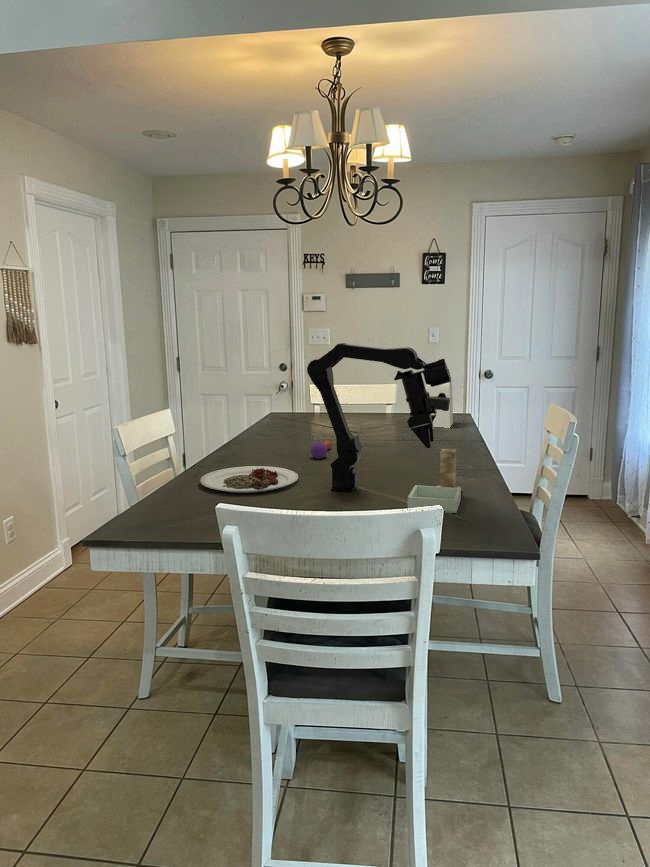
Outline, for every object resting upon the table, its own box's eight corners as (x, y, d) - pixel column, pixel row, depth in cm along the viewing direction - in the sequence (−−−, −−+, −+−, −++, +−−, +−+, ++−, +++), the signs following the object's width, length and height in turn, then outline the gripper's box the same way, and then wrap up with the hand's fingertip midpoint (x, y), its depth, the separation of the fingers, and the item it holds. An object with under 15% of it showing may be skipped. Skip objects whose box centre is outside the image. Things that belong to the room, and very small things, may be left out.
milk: (452, 424, 300) (454, 368, 295) (449, 429, 289) (451, 370, 284) (426, 423, 304) (427, 367, 299) (422, 427, 293) (423, 369, 288)
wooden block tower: (433, 495, 185) (434, 452, 183) (436, 489, 192) (437, 447, 189) (458, 497, 183) (459, 453, 181) (460, 490, 190) (462, 448, 187)
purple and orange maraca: (336, 438, 249) (326, 445, 230) (333, 454, 250) (323, 461, 231) (321, 435, 250) (310, 441, 231) (318, 450, 251) (307, 457, 232)
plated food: (186, 495, 189) (185, 484, 188) (217, 470, 218) (216, 460, 217) (288, 498, 185) (288, 486, 184) (305, 472, 214) (305, 462, 213)
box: (407, 510, 171) (407, 497, 171) (414, 497, 183) (415, 485, 183) (456, 513, 168) (456, 500, 167) (460, 500, 180) (460, 488, 179)
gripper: (441, 387, 171) (456, 444, 173) (446, 380, 189) (460, 431, 191) (400, 398, 174) (416, 454, 176) (409, 390, 192) (423, 441, 194)
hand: (430, 444), depth 184 cm, fingers open, 9 cm apart
